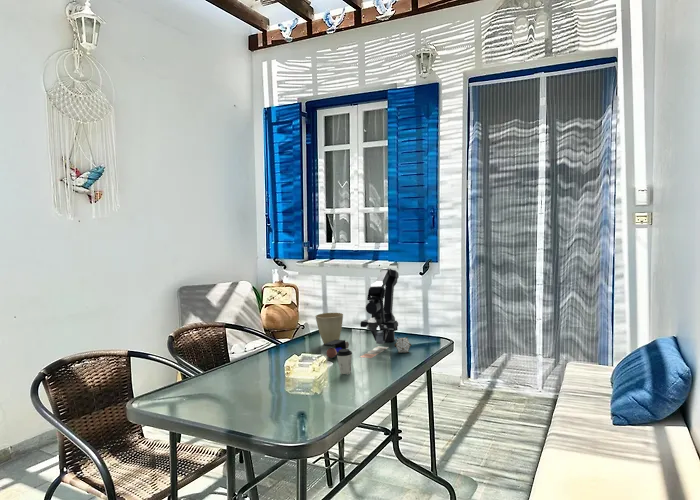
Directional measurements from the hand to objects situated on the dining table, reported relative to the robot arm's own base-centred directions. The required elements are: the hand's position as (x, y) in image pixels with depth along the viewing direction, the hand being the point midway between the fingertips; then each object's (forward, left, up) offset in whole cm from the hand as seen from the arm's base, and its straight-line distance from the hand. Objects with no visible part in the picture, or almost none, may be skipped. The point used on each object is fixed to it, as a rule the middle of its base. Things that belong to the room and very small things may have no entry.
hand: (380, 340), depth 252 cm
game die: (+4, +14, -4) cm, 15 cm away
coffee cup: (+40, +2, -4) cm, 40 cm away
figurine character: (+15, -17, -5) cm, 23 cm away
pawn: (0, 0, -1) cm, 1 cm away
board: (+7, 0, -4) cm, 8 cm away
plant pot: (-3, -31, -4) cm, 31 cm away
